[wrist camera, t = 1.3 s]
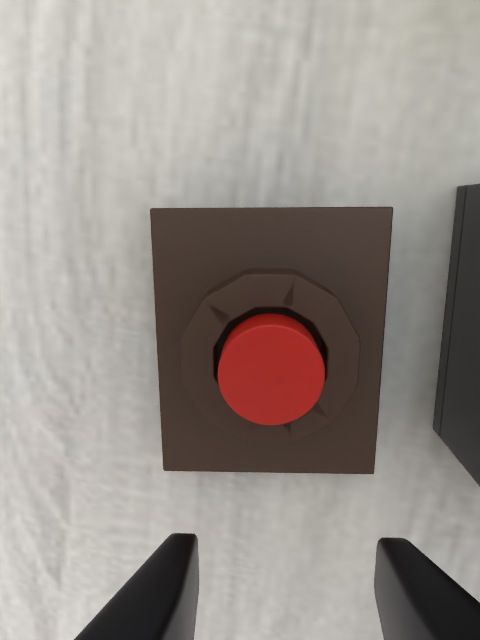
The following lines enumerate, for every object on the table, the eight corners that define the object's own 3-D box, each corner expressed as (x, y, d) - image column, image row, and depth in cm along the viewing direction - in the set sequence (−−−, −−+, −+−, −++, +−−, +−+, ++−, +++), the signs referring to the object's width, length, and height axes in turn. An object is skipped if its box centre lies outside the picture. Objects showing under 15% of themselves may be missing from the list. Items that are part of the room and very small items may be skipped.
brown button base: (363, 451, 21) (384, 498, 17) (171, 448, 21) (155, 494, 18) (379, 207, 18) (408, 206, 15) (160, 208, 19) (138, 208, 15)
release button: (316, 405, 17) (323, 426, 15) (222, 404, 17) (218, 425, 15) (320, 313, 16) (327, 324, 14) (220, 312, 16) (216, 324, 15)
